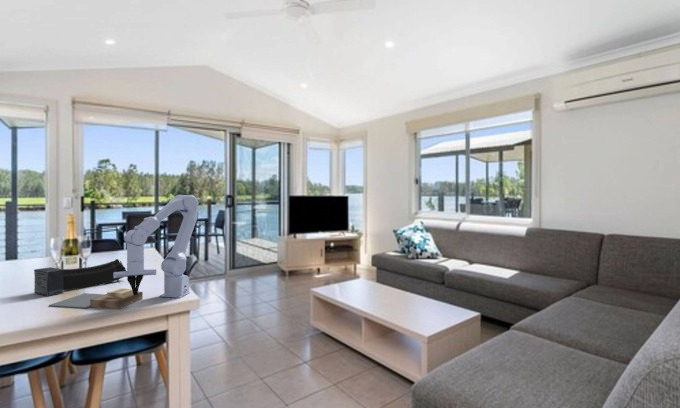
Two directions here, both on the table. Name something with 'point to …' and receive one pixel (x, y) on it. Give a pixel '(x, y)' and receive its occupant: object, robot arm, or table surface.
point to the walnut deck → (114, 301)
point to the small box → (48, 281)
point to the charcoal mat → (77, 301)
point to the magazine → (91, 275)
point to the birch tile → (119, 293)
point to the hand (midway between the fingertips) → (135, 294)
